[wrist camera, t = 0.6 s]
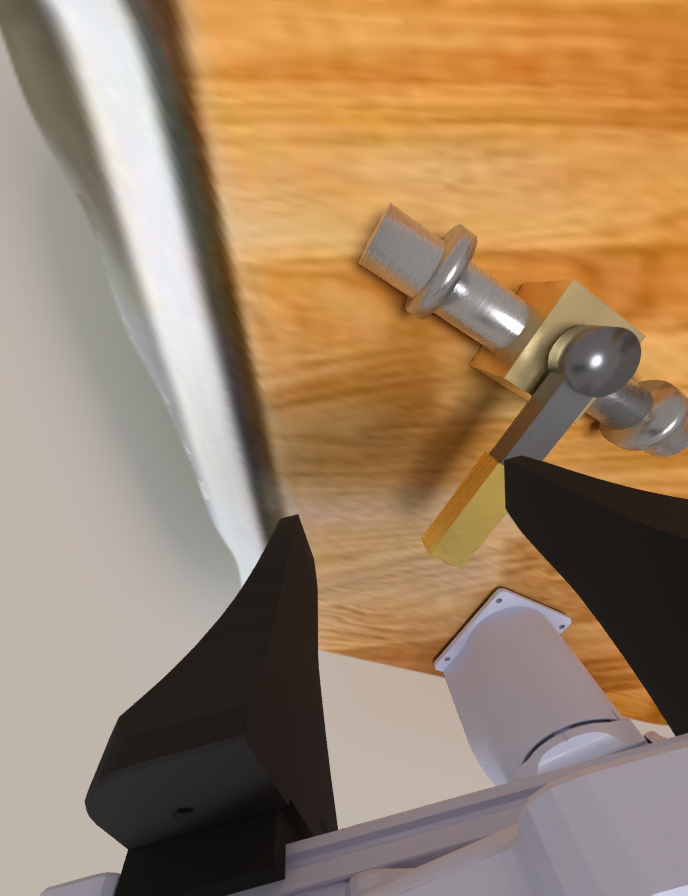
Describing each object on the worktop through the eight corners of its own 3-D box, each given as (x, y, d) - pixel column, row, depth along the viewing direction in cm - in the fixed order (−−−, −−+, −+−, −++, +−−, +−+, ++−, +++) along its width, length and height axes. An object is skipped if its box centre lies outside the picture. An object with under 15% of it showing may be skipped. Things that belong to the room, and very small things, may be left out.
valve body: (620, 459, 24) (679, 489, 20) (344, 286, 19) (354, 281, 15) (675, 397, 23) (750, 416, 19) (395, 188, 17) (420, 154, 13)
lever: (456, 553, 21) (469, 574, 19) (414, 534, 20) (424, 555, 18) (620, 345, 17) (654, 349, 15) (577, 312, 16) (608, 312, 14)
